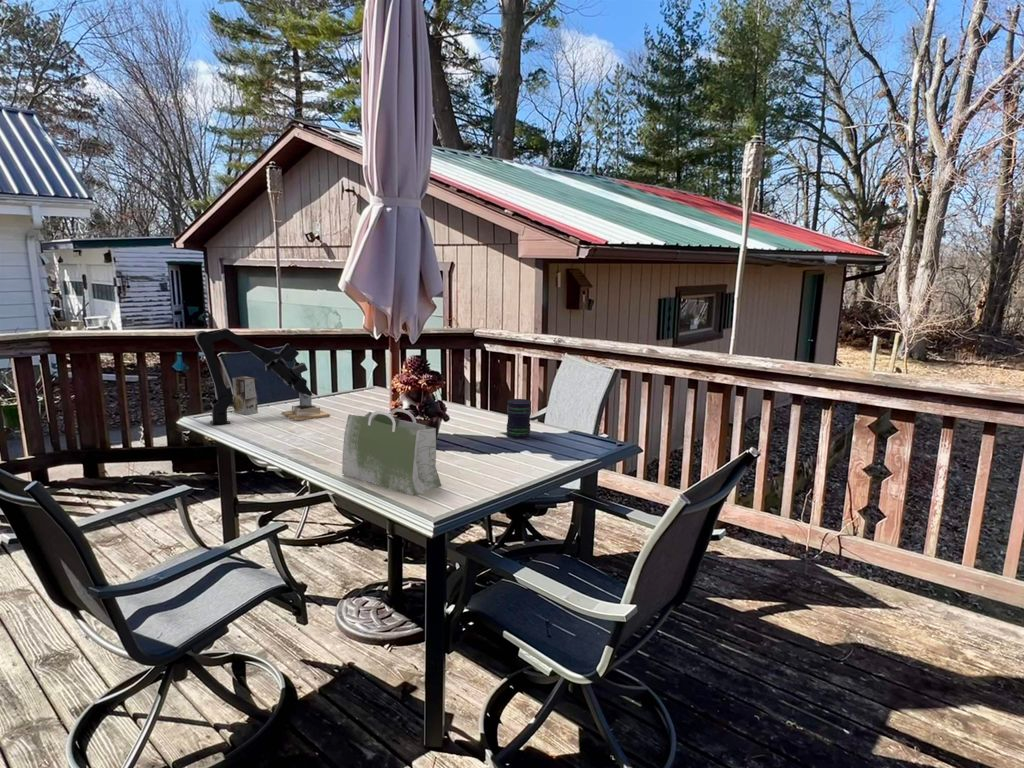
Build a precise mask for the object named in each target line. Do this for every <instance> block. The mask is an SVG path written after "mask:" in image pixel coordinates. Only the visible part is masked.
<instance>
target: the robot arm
mask: <svg viewBox="0 0 1024 768" xmlns="http://www.w3.org/2000/svg"><path fill="white" fill-rule="evenodd" d="M194 338H195V341H196V343H197V345H198V347H199V348H200V351H201V352H202V353H203V356H204V359H205V361H206V365H207V367H208V370H209V374H210V376H211V379H212V382H213V384H214V387H213V388H214V394H215V397H214V399H212V401H210V403H209V404H210V405H211V408H212V409H211V417H212V420H210V421H209V422H210V424H211V425H213V426H219V425H229V424H231V422H230V421H229V420H228V408H229V406H230V405H232V403H233V402H234V396H233V391H232V387H231V386H230V385H226V384H225V381H224V377H223V375H222V372H221V369H220V367H219V364H218V361H217V360H218V359H217V357H216V355H215V350H214V349H215V347H214V346H215V345H214V342H219V341H221V340H225V339H226V340H227V341H230V342H231V343H233V344H235V345H237V346H239V347H240V348H242V349H244V350H246V351H247V352H250V354H252V355H253V356H254V357H256V358H257V359H258V360H260V361H261V362H263V363H265V364H264V366H265V367H264V370H265V371H266V372H269V371H273V373H275V375H277V376H278V377H279V378H280V379H282V380H283V383H284V384H285V385H286V386H288V387H290V388H292V389H293V390H294V391H296V392H298V393H299V392H300V393H303V394H306V395H309V396H311V397H312V396H313V393H312V391H311V390H310V389H309V388H308V386H307V384H308V380H307V379H306V378H305V377H303V376H300V374H302V373H304V372H307V371H308V370H309V369H308V368H307V365H306V363H305V362H299V361H296V362H294V363H293V366H292V367H290V366H288V363H292V362H293V361H294V360H295V359H296V358H297V357H298V356H299V355H300V353H299V351H298V350H296V349H295V348H293V346H291V345H290V344H288V343H286V344H285V345H284V346H283V347H282V348H281V350H279V351H272V350H270V349H268V348H266V347H263V346H260V345H258V344H255V343H252V342H250V341H249V340H247V339H245V338H244V337H241V336H240V335H238V334H237V333H234V332H233V331H231V330H230V329H228V328H225V327H223V328H220V329H215V330H214V329H213V330H209V331H206V330H199V331H198V332H196V333H195V335H194ZM310 391H311V392H310Z"/></svg>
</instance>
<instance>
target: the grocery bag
mask: <svg viewBox="0 0 1024 768" xmlns="http://www.w3.org/2000/svg"><path fill="white" fill-rule="evenodd" d="M396 412H397V413H398V412H399V413H404V414H406V415H408V416H409V417H410V418H411V421H407V420H404V419H403V420H401V419H399V418H396V417H394V416H393V415H394V413H396ZM341 461H342V468H341V469H342V474H344V475H348V476H351V477H350V478H353V477H356V478H355V479H358V478H360V479H359V480H361V479H364V480H366V481H365V482H367V481H370V482H373V483H376V484H378V485H377V486H379V485H381V486H380V487H382V486H383V487H382V488H385V487H386V488H385V489H388V490H391V489H392V490H391V491H395V492H398V493H402V494H407V495H411V496H415V497H416V496H419V495H422V494H424V493H426V492H429V491H431V490H434V489H436V488H439V487H441V486H442V483H441V480H440V476H439V473H438V470H437V466H436V462H437V427H432V426H429V425H424V424H421V423H417V420H416V418H415V416H414V415H413V414H412V413H411V412H410V411H409V410H406V409H404V408H394V409H391V411H390V413H389V412H386V411H381V410H376V411H373V412H372V411H369V412H368V413H366V414H364V415H359V414H357V415H356V414H348V416H347V420H346V424H345V428H344V435H343V447H342V460H341ZM342 474H341V475H342ZM344 475H343V476H344ZM348 476H347V477H348ZM364 480H363V481H364ZM370 482H369V483H370ZM373 483H372V484H373ZM376 484H375V485H376Z"/></svg>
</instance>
